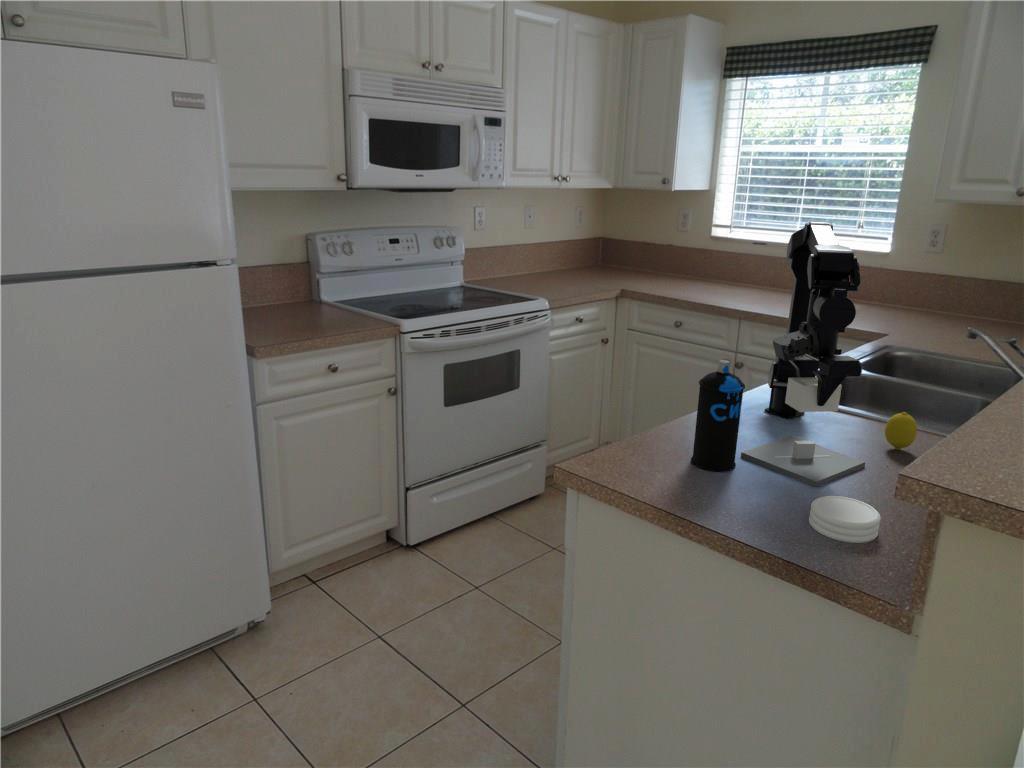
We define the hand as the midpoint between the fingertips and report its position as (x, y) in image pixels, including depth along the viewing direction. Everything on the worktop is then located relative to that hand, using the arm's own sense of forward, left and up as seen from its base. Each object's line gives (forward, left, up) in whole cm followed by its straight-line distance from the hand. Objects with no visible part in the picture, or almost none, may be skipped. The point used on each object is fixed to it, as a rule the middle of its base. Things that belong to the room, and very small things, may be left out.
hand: (811, 401), depth 136 cm
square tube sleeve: (0, 0, -1) cm, 1 cm away
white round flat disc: (+19, -19, -13) cm, 30 cm away
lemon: (+7, +21, -12) cm, 25 cm away
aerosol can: (-9, -16, -12) cm, 22 cm away
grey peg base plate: (0, -1, -12) cm, 12 cm away
